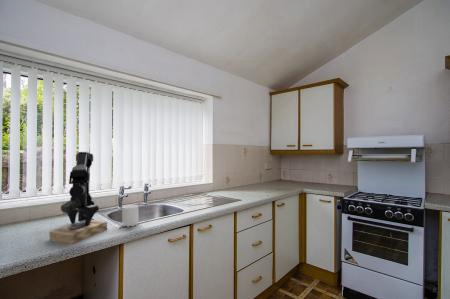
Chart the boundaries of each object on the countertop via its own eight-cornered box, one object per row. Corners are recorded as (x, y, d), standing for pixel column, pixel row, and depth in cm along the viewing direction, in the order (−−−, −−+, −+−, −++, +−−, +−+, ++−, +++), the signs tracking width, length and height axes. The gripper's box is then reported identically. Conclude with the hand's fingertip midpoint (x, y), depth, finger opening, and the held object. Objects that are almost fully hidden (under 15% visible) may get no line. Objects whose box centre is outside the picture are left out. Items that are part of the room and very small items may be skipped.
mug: (118, 223, 136) (117, 205, 136) (132, 219, 141) (132, 202, 141) (125, 228, 127) (125, 209, 127) (140, 224, 132) (140, 206, 132)
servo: (85, 230, 123) (85, 217, 123) (91, 231, 122) (91, 218, 122) (67, 237, 114) (67, 223, 114) (73, 238, 112) (73, 224, 112)
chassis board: (86, 226, 130) (86, 219, 130) (107, 229, 125) (106, 221, 125) (49, 240, 111) (49, 231, 111) (71, 243, 106) (71, 234, 106)
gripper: (49, 196, 113) (50, 228, 113) (79, 198, 107) (79, 232, 107) (71, 191, 124) (71, 221, 124) (99, 194, 118) (99, 225, 118)
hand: (80, 225), depth 118 cm, fingers open, 9 cm apart
